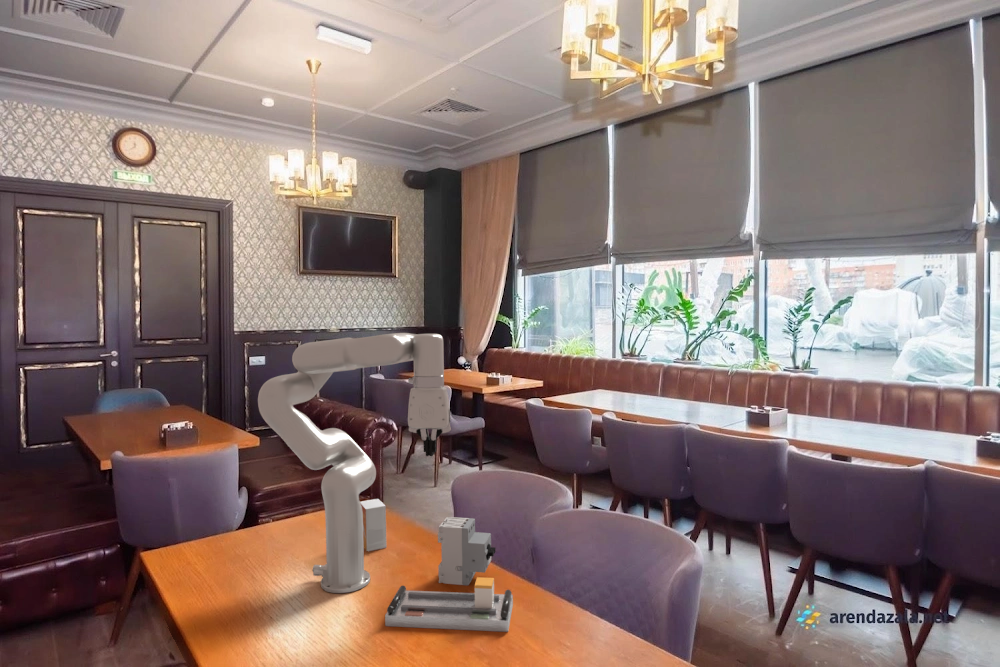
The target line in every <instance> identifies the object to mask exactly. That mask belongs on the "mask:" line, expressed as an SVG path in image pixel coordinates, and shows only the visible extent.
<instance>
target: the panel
mask: <svg viewBox="0 0 1000 667" xmlns="http://www.w3.org/2000/svg"><path fill="white" fill-rule="evenodd" d="M513 598H514V594H512V591H511V589H506V590H505V591H504V594H503V593H494V604H493V608H492V609H488V608H475V592H457V591H456V592H453V591H452V592H451V591H430V590H429V591H428V590H425V591H424V590H407V587H406V586H405V585H401V586H400V587H399V588H398V590H397V592H396V593H395V594H394V596H393V598H392V600H391V601H390V604H389V605H388V607H387V608H386V612H385V614H384V615H385V616H384V622H385V623H384V625H385V627H394V628H395V627H398V628H401V627H402V628H415V629H416V628H419V629H438V630H439V629H441V630H443V629H444V630H461V631H463V630H464V631H482V632H485V631H486V632H503V633H504V632H505V633H509V631H510V630H509V629H510V624H511V618H512V612H513V606H514V599H513Z"/></svg>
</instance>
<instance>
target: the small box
mask: <svg viewBox="0 0 1000 667" xmlns="http://www.w3.org/2000/svg"><path fill="white" fill-rule="evenodd" d="M360 504H361V507H362V512H363V546H364V551H366V552H367V551H368V552H372V551H376V550H381V549H386V548H387V515H386V514H387V512H386V510H387V507H386V505H385V503H384V502H382V501H381V500H380V499H379V498H373V499H367V500H362V501H360Z"/></svg>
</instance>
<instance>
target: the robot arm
mask: <svg viewBox="0 0 1000 667" xmlns="http://www.w3.org/2000/svg"><path fill="white" fill-rule="evenodd" d="M444 351H445V350H444V338H443V336H442V335H441V334H439V333H418V334H416V333H409V332H397V333H396V332H394V333H386V334H379V335H372V336H371V335H370V336H363V337H342V338H336V339H328V340H321V341H320V340H319V341H310V342H305V343H303V344H301V345H299V346H297V348H295V350H294V352H293V353H292V358H291V360H292V364H293V367H294V368H295V369H296V370H297V371H296V372H294V373H289V374H288V373H286V374H281V375H278V376H275V377H271V378H269V379H268V380H267V381H265V382H264V383H263V384H262V386H261V387H260V389H259V391H258V397H257V406H258V411H259V414H260V416H261V418H262V419H263V420H264V421H265V423H266V424H267V425H268V426H269V427H270V428H271V429H272V430H273V431H274V432H275V433H276V434H277V435H278V436H279V438H281V439H282V441H284V444H286V445H287V447H289V449H290V450H291V451H292V452H293V453H294V454H295V456H297V458H299V460H300V462H302V463H303V464H304V465H305V467H307V468H309V469H310V470H312V471H313V470H314V471H317V470H322V469H325V468H326V467H329V466H331V468H329V469H328V470H327V471H326V472H325V474H324V476H323V478H322V480H321V486H320V488H321V494H322V500H323V505H324V515H325V516H324V517H325V544H326V545H325V546H326V549H325V550H326V552H325V553H326V563H325V564H324V565H321V564H313V566H312V573H313V574H312V575H313V576H314V577H319V576H320V577H321V579H320V587H321V588H322V589H323V590H324V591H326V592H327V593H332V594H345V593H351V592H355V591H358V590H361V589H363V588H365V587H366V586H367V585H369V583H370V581H371V574H370V572H368V571H367V570H365V560H364V559H365V557H364V556H365V555H364V551H365V548H364V546H363V512H362V507H361V504H360V502H361V501H360V494H361V493H362V492H364V491H365V490H367V489H368V488H369V487H371V486H372V485H373V484H374V482H375V480H376V477H377V468H376V466H375V464H374V462H373V461H372V459H371V458H370V457H369V456H368V455H367V453H366V452H364V450H363V449H362V448H361V447H360V446H359V445H358V443H357V442H355V440H354V439H353V438H352V437H351V436H350V435H349V434H348V433H347V432H346V431H344V430H342V429H340V428H336V427H330V428H325V429H323V430H322V429H320V428H319V427H318V426H316V424H315V423H314V422H313V421H312V420H311V419H310V417H308V416H307V414H305V413H303V412H302V411H300V410H299V409H297V408H296V407H294V405H299V404H303V403H305V402H308V401H310V400H311V399H313V398H315V396H316V395H317V394H318V393H319V391H320V390H321V389H322V388H323V386H324V385H326V383H327V381H329V378H331V376H332V375H333V373H337V372H346V371H354V370H357V369H364V368H365V369H366V368H371V367H374V368H375V367H380V366H381V367H382V366H390V365H391V366H392V365H395V364H399V363H406V362H411V361H413V376H412V377H409V378H408V384H411V385H412V386H413V387H411V388H410V392H409V397H408V398H409V399H408V406H407V408H408V411H407V412H408V413H407V425H408V431H409V432H410V433H413V434H414V433H415V434H417V435H418V436H419V437H420V438H421V440H422V441H423V452H424V453H425V457H433V456H434V455H435V453H437V450H438V448H437V447H438V446H437V438H439V437H440V436H441V434H446V433H450V431H451V430H452V427H451V410H450V409H451V407H450V400H449V393H448V388H447V387H445V366H444V365H445V364H444V362H445V361H444V359H445V358H444ZM429 430H431V435H429Z"/></svg>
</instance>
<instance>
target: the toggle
mask: <svg viewBox="0 0 1000 667" xmlns="http://www.w3.org/2000/svg"><path fill="white" fill-rule="evenodd" d="M474 593H475V608H488V609H492V608H493V604H494V594H495V578H494V577H480V576H477V577H476V580H475V583H474Z"/></svg>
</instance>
